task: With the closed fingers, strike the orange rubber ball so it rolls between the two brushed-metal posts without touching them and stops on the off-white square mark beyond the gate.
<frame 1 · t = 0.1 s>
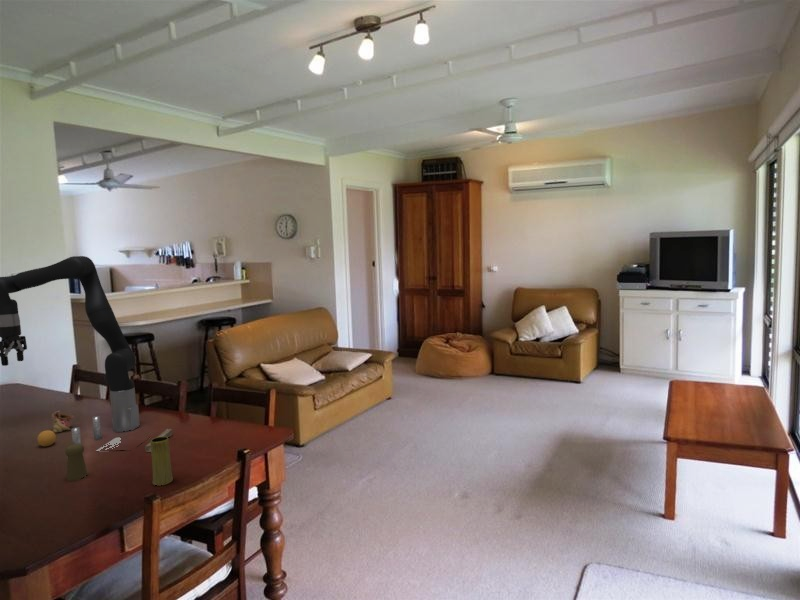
hand: (13, 363, 220), 29 cm above the table, tool pointing down, fingers open, 8 cm apart
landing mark: (123, 444, 204), on the table
stopper wall: (159, 443, 204), on the table
left post: (77, 451, 198), on the table
right post: (98, 438, 211), on the table
olive green pepper mill: (77, 477, 175), on the table
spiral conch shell: (62, 430, 223), on the table
ball: (46, 438, 204), on the table
vase: (162, 482, 170), on the table
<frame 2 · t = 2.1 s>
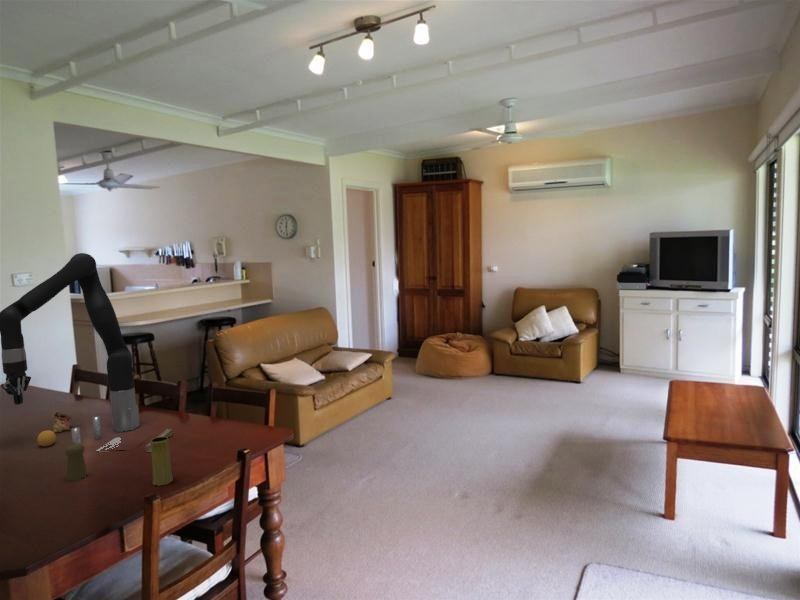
hand: (18, 403, 203), 17 cm above the table, tool pointing down, fingers closed
nothing on the table moved.
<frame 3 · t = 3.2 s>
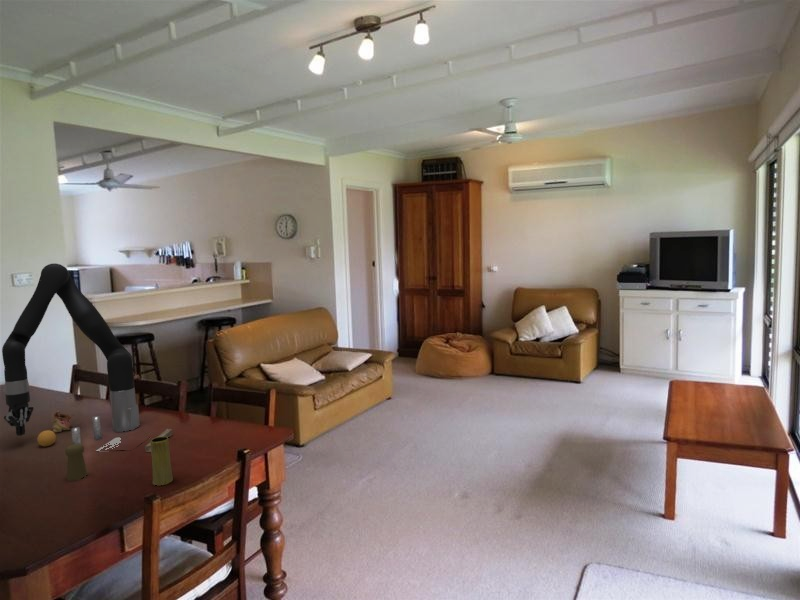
hand: (21, 434, 204), 5 cm above the table, tool pointing down, fingers closed
nothing on the table moved.
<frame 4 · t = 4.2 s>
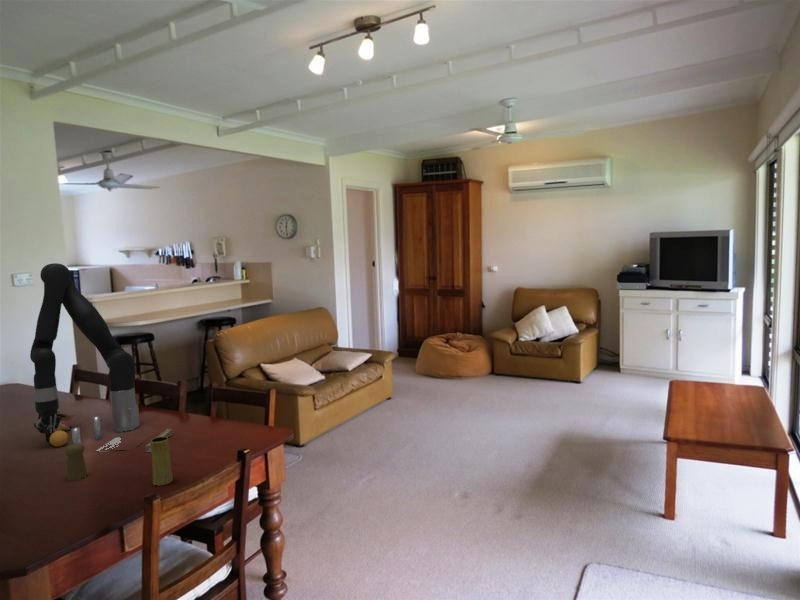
hand: (50, 441, 205), 1 cm above the table, tool pointing down, fingers closed
ball: (58, 438, 204), on the table, touching gripper
everything else where it was.
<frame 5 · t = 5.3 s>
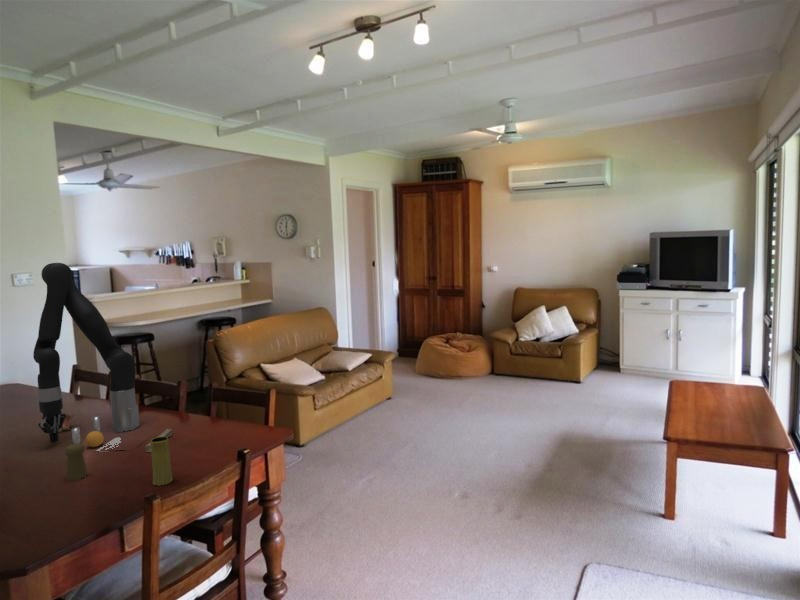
hand: (54, 441, 204), 2 cm above the table, tool pointing down, fingers closed
ball: (94, 439, 202), on the table
everything else where it was.
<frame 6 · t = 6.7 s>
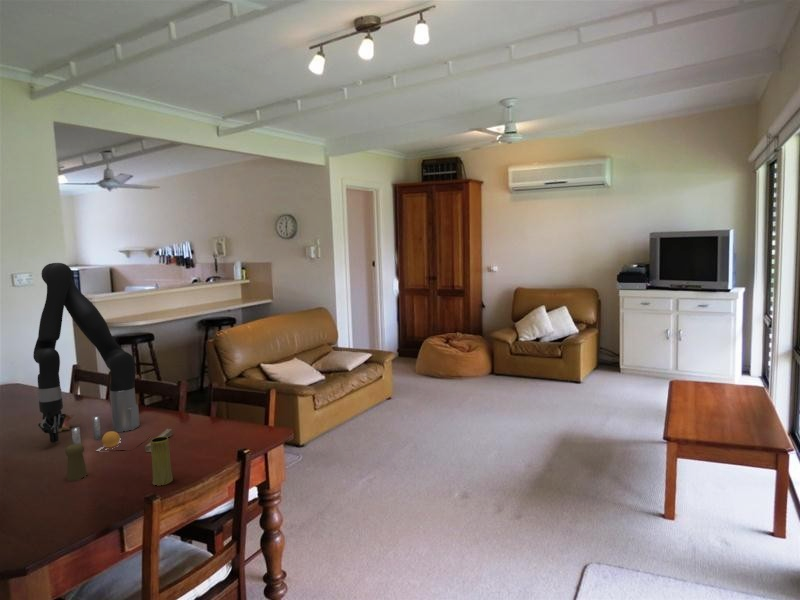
hand: (54, 441, 204), 2 cm above the table, tool pointing down, fingers closed
ball: (110, 439, 201), on the table
everything else where it was.
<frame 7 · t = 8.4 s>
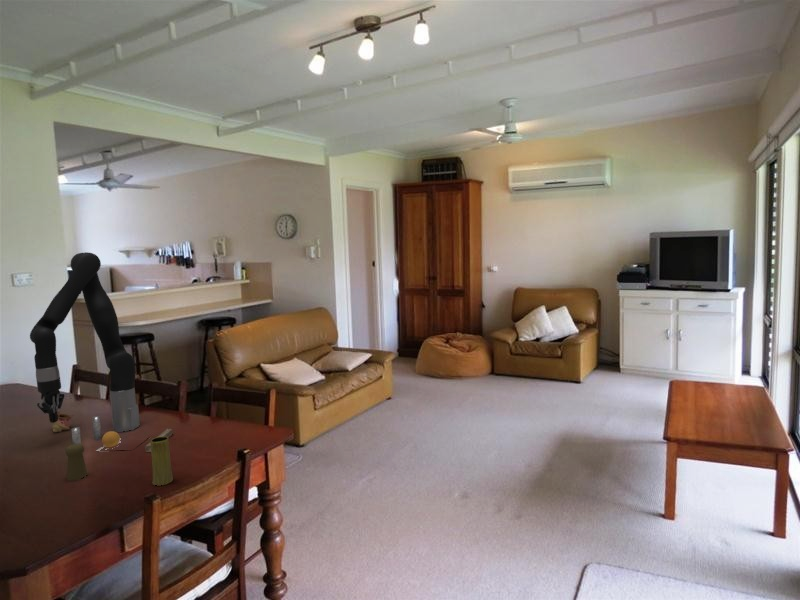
hand: (54, 421, 204), 9 cm above the table, tool pointing down, fingers closed
nothing on the table moved.
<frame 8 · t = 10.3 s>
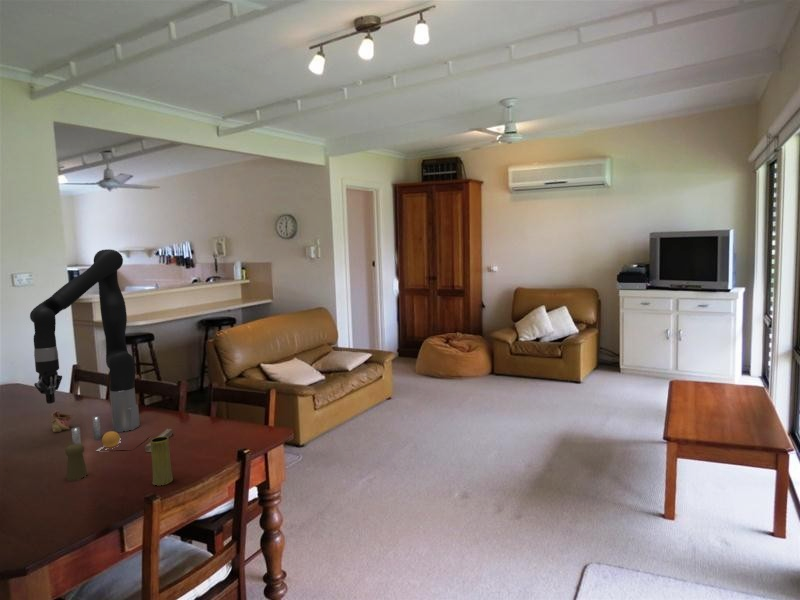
hand: (50, 402, 203), 17 cm above the table, tool pointing down, fingers closed
nothing on the table moved.
at the end: ball 4.2 cm from the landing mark (horizontally); ball never touched left post; ball never touched right post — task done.
